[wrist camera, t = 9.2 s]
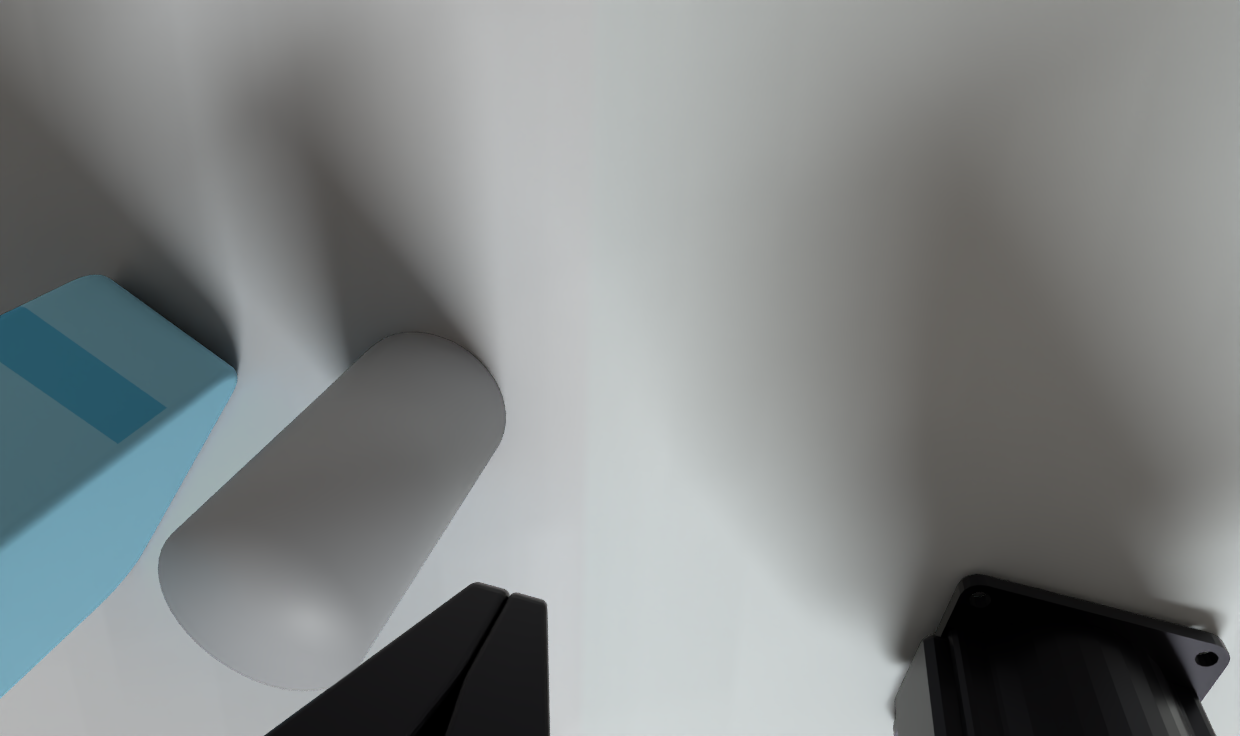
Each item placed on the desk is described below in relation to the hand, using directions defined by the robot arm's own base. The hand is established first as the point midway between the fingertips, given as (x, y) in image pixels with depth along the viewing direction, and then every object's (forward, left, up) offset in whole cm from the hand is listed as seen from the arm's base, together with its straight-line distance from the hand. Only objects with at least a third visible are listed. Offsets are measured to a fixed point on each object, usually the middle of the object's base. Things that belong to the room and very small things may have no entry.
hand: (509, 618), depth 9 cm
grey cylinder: (+6, +6, -12) cm, 15 cm away
